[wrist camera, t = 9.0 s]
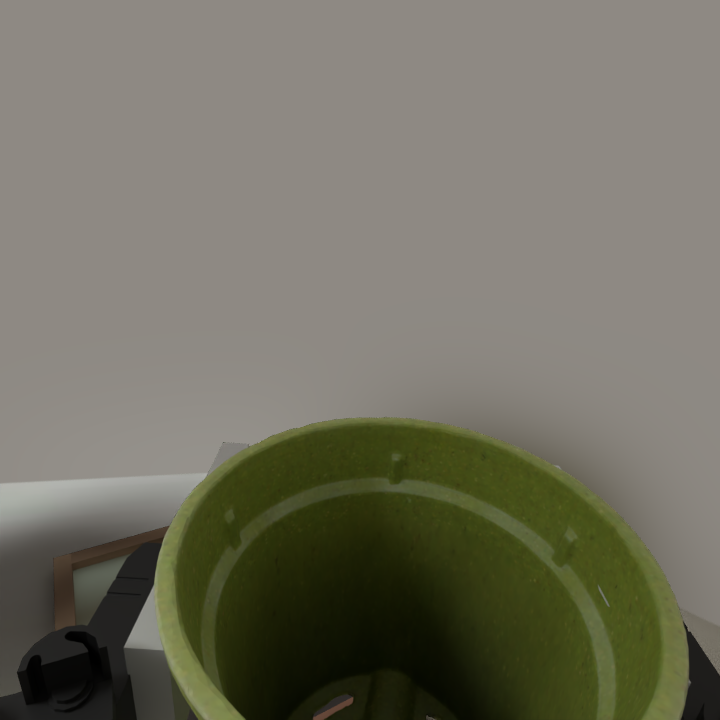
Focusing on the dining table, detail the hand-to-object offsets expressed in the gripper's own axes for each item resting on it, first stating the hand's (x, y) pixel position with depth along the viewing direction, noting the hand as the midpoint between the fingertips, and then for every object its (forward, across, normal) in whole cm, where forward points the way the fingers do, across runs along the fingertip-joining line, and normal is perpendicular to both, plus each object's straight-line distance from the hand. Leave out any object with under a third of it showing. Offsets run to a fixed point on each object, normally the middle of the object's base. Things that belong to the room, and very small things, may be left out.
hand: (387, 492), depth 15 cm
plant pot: (-5, 0, -6) cm, 8 cm away
